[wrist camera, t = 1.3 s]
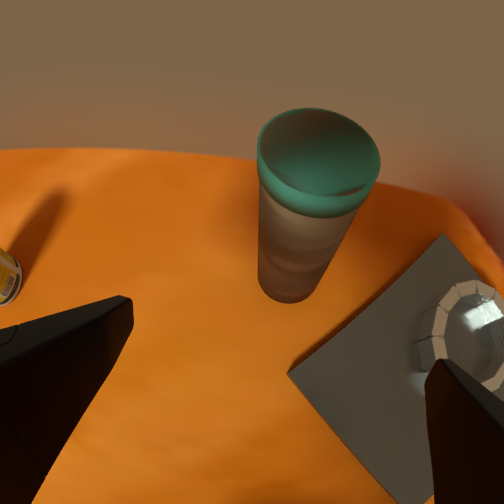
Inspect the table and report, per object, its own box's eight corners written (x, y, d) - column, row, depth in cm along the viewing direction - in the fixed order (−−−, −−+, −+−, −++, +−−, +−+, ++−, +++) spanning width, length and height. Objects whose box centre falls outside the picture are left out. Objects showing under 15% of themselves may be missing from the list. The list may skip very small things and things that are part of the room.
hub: (526, 359, 19) (548, 353, 16) (404, 511, 15) (422, 523, 12) (437, 237, 24) (454, 220, 21) (286, 373, 20) (291, 371, 17)
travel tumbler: (332, 279, 23) (402, 163, 11) (283, 317, 21) (317, 224, 10) (292, 233, 24) (321, 95, 12) (243, 267, 23) (231, 137, 11)
